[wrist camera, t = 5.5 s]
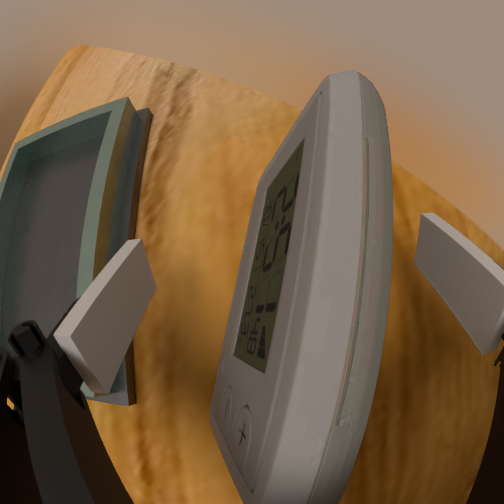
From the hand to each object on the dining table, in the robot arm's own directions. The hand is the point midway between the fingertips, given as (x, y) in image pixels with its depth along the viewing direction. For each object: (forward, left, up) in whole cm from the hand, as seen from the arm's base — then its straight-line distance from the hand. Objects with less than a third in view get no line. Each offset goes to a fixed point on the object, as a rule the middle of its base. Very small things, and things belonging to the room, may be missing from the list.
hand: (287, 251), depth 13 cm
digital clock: (0, +2, -5) cm, 5 cm away
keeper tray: (+18, -4, -5) cm, 19 cm away
